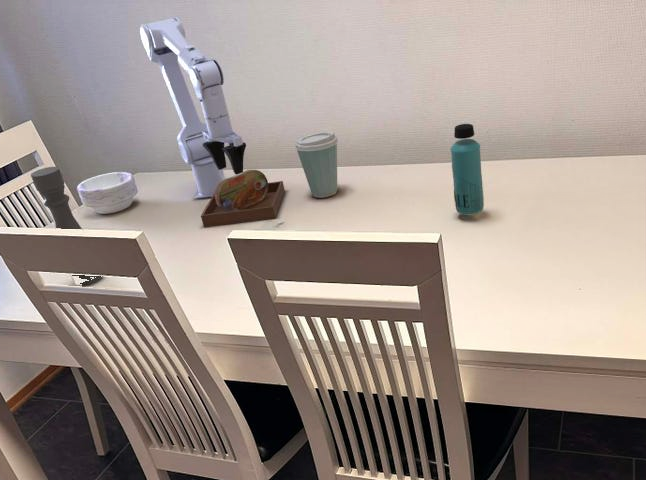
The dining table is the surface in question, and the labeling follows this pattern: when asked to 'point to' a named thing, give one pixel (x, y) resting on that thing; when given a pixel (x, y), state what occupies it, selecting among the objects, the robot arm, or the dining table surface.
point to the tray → (252, 213)
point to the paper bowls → (108, 192)
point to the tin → (241, 190)
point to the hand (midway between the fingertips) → (230, 170)
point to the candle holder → (58, 203)
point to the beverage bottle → (467, 171)
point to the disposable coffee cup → (319, 162)
